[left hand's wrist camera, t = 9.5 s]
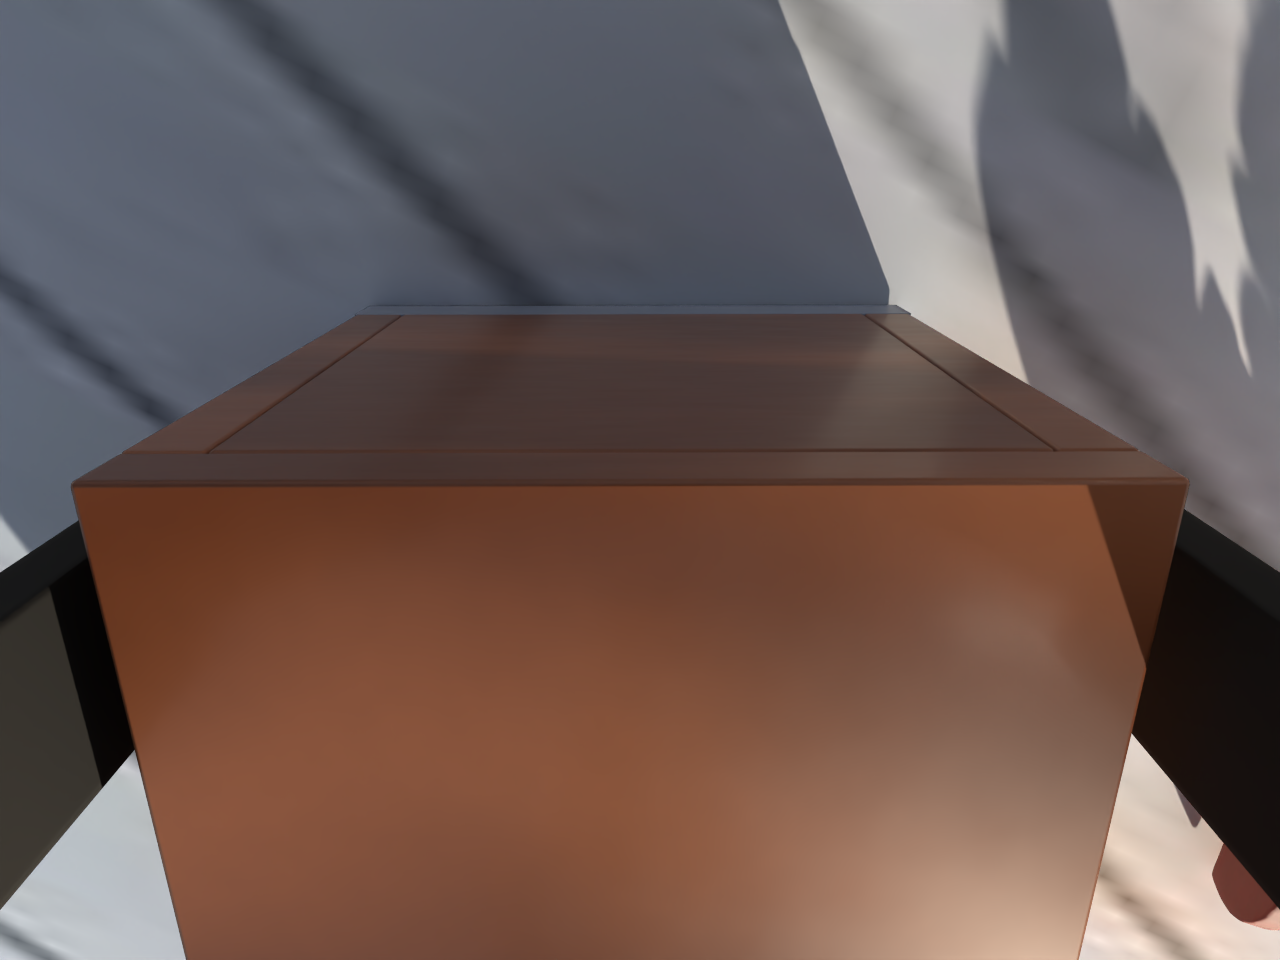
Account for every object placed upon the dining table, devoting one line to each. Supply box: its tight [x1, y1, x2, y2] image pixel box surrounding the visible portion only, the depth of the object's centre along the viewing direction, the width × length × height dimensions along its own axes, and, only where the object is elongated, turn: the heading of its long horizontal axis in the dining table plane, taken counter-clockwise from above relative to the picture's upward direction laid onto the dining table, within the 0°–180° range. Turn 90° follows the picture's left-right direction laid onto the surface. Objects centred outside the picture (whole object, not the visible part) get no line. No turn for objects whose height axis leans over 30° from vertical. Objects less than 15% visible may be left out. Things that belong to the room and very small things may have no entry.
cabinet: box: [71, 305, 1190, 960], centre depth 17 cm, size 16×11×11 cm
